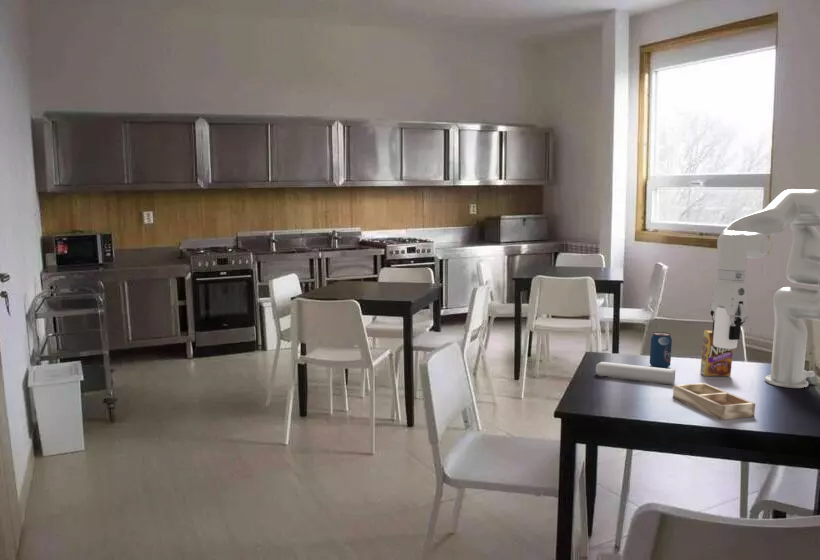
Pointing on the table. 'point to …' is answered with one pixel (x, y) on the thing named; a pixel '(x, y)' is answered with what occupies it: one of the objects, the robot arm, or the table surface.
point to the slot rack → (714, 401)
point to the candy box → (715, 358)
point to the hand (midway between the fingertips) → (725, 336)
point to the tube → (636, 372)
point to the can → (723, 330)
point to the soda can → (660, 350)
